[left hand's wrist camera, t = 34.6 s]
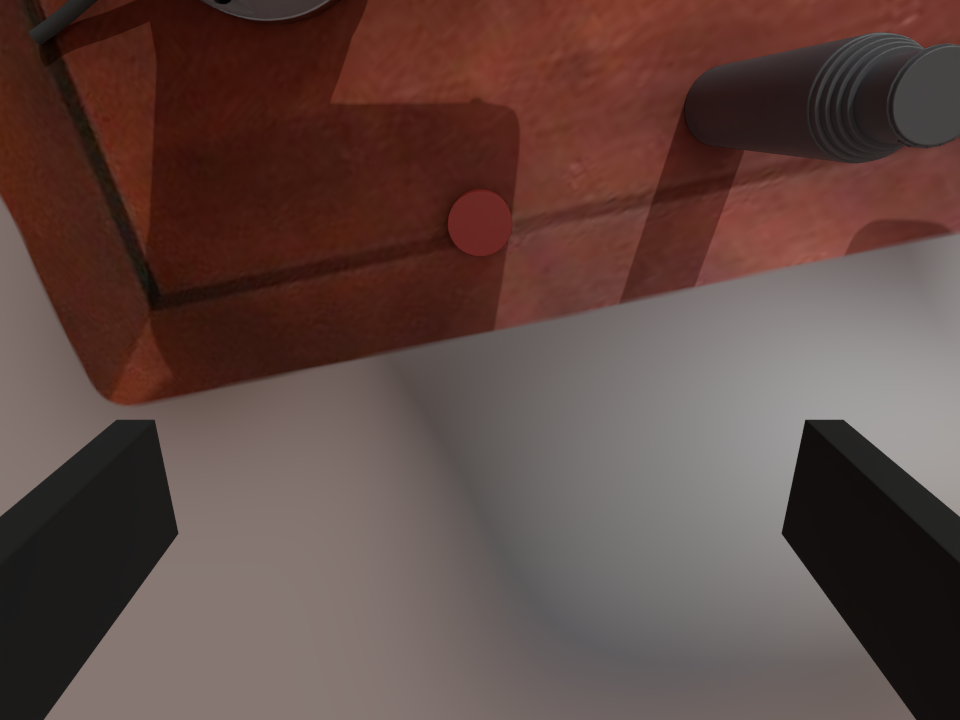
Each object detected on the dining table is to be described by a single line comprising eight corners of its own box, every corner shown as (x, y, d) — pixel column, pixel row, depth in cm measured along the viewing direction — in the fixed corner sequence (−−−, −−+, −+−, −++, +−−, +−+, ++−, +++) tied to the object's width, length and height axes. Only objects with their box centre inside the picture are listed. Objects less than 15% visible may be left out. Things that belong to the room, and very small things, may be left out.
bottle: (668, 116, 43) (836, 116, 23) (719, 47, 42) (948, -18, 21) (724, 161, 44) (932, 199, 24) (776, 96, 43) (1046, 76, 22)
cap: (440, 240, 46) (439, 244, 45) (459, 179, 45) (459, 181, 43) (499, 260, 47) (499, 264, 45) (520, 200, 45) (521, 203, 44)
